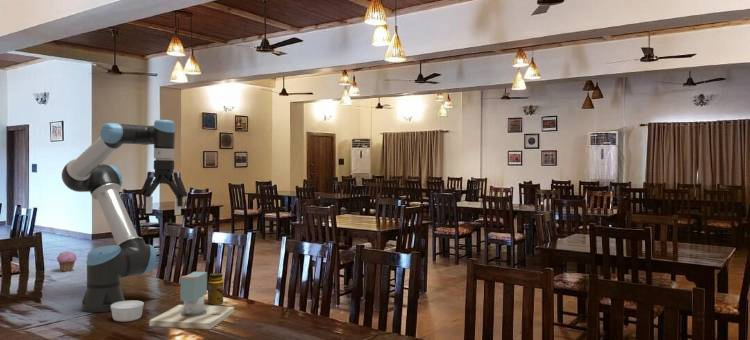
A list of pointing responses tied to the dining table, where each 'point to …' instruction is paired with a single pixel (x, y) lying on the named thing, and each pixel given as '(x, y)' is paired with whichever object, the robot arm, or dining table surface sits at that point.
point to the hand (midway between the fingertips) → (163, 214)
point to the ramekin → (127, 310)
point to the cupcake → (66, 261)
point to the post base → (192, 317)
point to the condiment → (215, 290)
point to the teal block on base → (193, 292)
